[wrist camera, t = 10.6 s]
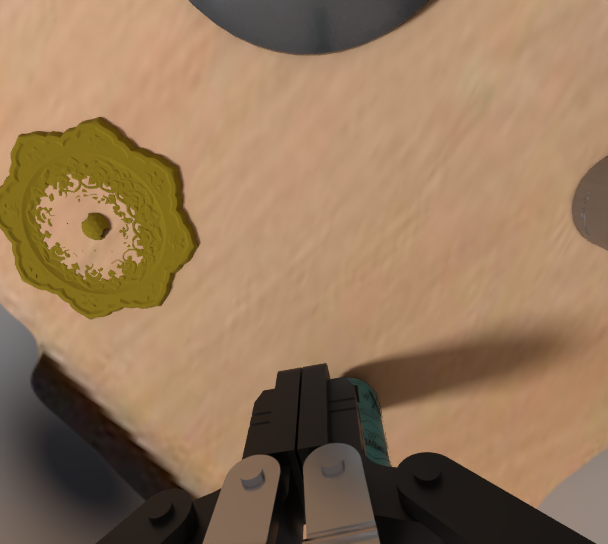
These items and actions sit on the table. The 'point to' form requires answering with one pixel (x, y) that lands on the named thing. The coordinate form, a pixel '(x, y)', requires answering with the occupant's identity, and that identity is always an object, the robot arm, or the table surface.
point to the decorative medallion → (97, 216)
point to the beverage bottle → (371, 422)
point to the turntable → (308, 22)
